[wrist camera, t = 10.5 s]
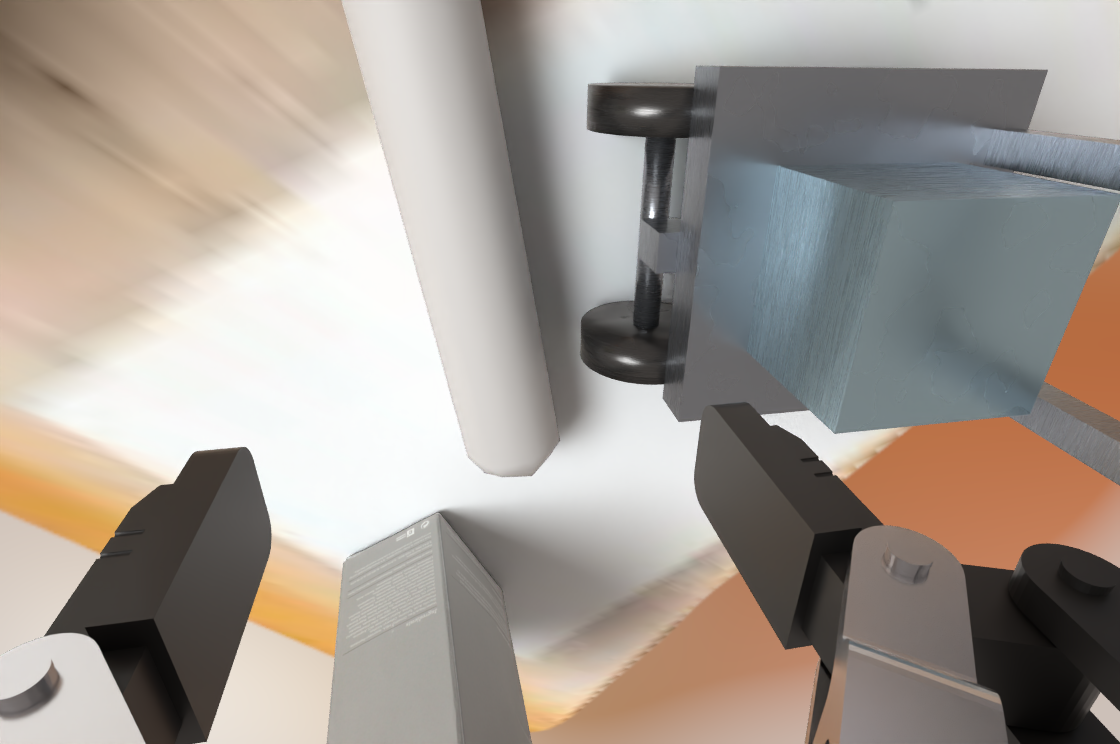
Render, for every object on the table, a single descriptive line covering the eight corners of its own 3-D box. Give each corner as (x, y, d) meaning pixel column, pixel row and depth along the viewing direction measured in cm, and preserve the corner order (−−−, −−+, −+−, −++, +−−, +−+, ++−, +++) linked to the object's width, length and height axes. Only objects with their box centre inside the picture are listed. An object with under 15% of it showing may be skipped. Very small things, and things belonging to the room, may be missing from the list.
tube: (587, 469, 31) (485, -178, 18) (491, 515, 29) (306, -173, 16) (539, 423, 35) (430, -127, 23) (452, 460, 33) (283, -119, 21)
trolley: (574, 63, 25) (992, 75, 6) (951, 68, 28) (2008, 84, 9) (569, 346, 31) (777, 791, 12) (881, 325, 34) (1440, 657, 15)
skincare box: (342, 554, 35) (280, 882, 21) (452, 500, 34) (464, 796, 21) (418, 637, 39) (409, 958, 25) (518, 590, 39) (565, 887, 25)
